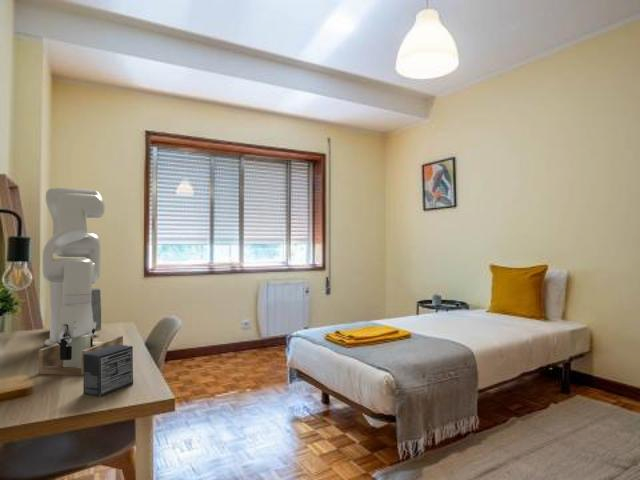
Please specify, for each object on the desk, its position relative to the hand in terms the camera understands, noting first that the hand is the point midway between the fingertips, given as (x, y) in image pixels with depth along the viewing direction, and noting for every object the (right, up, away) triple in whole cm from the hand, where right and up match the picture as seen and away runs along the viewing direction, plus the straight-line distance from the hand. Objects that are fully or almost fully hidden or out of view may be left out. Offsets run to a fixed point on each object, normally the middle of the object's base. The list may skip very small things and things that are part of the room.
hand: (76, 355), depth 125 cm
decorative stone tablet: (-31, -5, +51) cm, 60 cm away
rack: (0, -4, +3) cm, 5 cm away
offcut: (+1, -1, +9) cm, 10 cm away
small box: (+19, -4, -18) cm, 27 cm away
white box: (0, -4, 0) cm, 4 cm away
